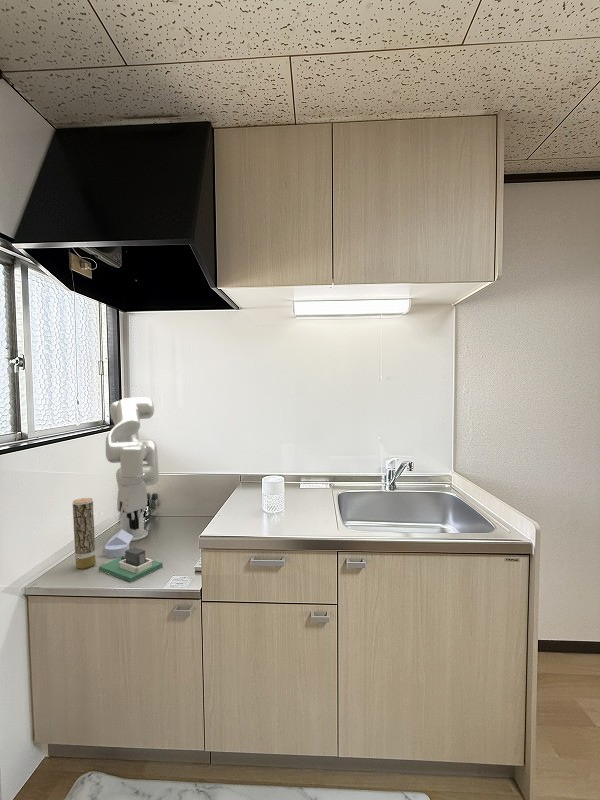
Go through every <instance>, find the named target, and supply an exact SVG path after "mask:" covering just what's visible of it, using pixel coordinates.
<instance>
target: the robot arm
mask: <svg viewBox="0 0 600 800" xmlns="http://www.w3.org/2000/svg"><path fill="white" fill-rule="evenodd" d="M109 412H110V417H111V419H112V422H113V425H114V426H113V427H112V428H111V429H110V430H109V432H108V433H107V436H106V438H105V456H106V457H105V458H106V459H107V462H109V463H112V464H117V463H118V464H119V463H120V467H119V468H118V469H117V470H116V471H115V472H116V473H115V477H116V478H115V479H116V483H117V498H116V499H117V504H116V505H117V507H116V509H117V512H119V517H120V519H119V520H120V522H119V523H120V524H119V525H117V526H116V530H119V531H120V530H124V531H126V532H127V533H129V534H131V535H132V536H133V538H132V540H131V541H130V542H136V541H140V540H142V539H144V538H146V537H147V536H148V534H149V533H148V530H146V529H145V528H144V527H145V526H144V511H145V510H147V505H148V491H147V487H148V486H154V485H156V484H158V482H159V480H160V479H159V478H160V477H159V476H160V474H159V473H160V472H159V459H158V449H157V448H158V447H157V444H156V442H155V441H154V440H153V439H139V430H140V428H141V420H143V419H144V420H145V419H146V420H147V419H151V418H152V417H153V416H154V413H155V405H154V402H153V400H152V399H151V398H150V397H145V396H144V397H127V398H126V397H125V398H122V399H120V400H117V401H114V402H112V403H111V404H110V406H109ZM144 462H146V463H144Z"/></svg>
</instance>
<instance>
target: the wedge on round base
mask: <svg viewBox="0 0 600 800" xmlns="http://www.w3.org/2000/svg"><path fill="white" fill-rule="evenodd" d="M132 538H133V536H132V535H131V534H129V533H127V532H126V531H124V530H119V531H118V532H116V533H115V534H114V535H113V536H111V537H110V538H109V540H108V541H107V543H106V544H105V545H104V555H105V557H106V558H109V557H110V558H111V559H113V558H115V557H116V558H120V557H122V556H124V555H126V554H125V551H126V550H128V549H130V543H131V542H132V541H131V540H132ZM110 558H109V559H110ZM116 558H115V559H116Z"/></svg>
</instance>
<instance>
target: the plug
mask: <svg viewBox="0 0 600 800" xmlns="http://www.w3.org/2000/svg"><path fill="white" fill-rule="evenodd" d="M125 554H126V563H127V564H130V565H133V566H136V567H138V566H140V565H142V564H144V563H146V558H147V557H146V550H145V549H143V548H139V547H136V546H133V547H131V548H129V549H128V550H126V551H125Z"/></svg>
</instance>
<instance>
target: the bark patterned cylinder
mask: <svg viewBox="0 0 600 800" xmlns="http://www.w3.org/2000/svg"><path fill="white" fill-rule="evenodd" d="M72 516H73V519H72V521H73V535H74V536H73V537H74V555H75V566H76V568H78V569H80V570H81V569H84V568H85V569H89V568H92V567H93V566H95V565H96V561H97V560H96V559H97V558H96V539H95V519H94V517H95V516H94V499H93V498H91V497H82V498H77V499H74V500H72Z"/></svg>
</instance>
